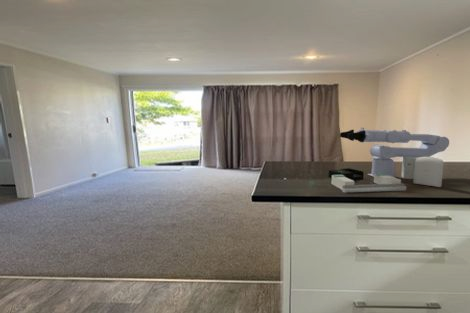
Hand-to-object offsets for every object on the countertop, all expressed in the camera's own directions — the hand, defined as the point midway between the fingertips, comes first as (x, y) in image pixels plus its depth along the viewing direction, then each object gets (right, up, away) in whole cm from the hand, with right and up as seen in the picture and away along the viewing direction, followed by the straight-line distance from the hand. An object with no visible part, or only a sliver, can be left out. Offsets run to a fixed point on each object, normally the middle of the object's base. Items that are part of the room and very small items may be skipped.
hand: (344, 135), depth 129 cm
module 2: (+13, -23, -13) cm, 29 cm away
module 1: (-7, -23, -15) cm, 28 cm away
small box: (+34, -21, +2) cm, 40 cm away
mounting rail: (+4, -24, -21) cm, 32 cm away
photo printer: (+31, -23, -12) cm, 41 cm away
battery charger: (+2, -21, +2) cm, 22 cm away
